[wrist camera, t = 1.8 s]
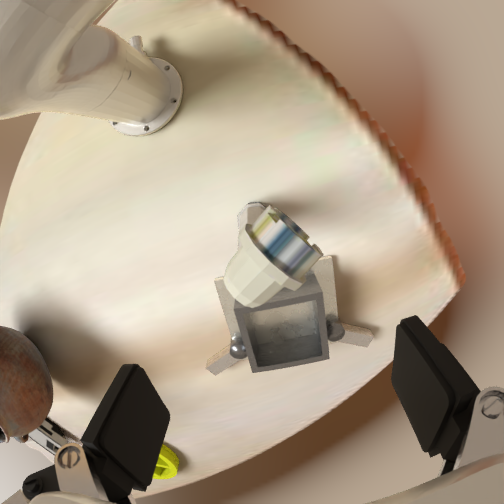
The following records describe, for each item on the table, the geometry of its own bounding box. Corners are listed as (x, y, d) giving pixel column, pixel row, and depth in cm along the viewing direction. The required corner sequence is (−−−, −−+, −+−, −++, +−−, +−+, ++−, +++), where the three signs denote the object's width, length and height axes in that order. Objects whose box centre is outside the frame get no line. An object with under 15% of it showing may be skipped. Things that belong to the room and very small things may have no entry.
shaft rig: (179, 284, 44) (167, 306, 37) (366, 247, 41) (384, 263, 34) (210, 367, 49) (205, 393, 42) (369, 338, 46) (382, 361, 40)
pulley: (82, 430, 63) (77, 441, 58) (123, 414, 57) (117, 428, 52) (146, 472, 69) (143, 483, 65) (198, 463, 64) (195, 476, 59)
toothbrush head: (231, 215, 40) (192, 298, 16) (261, 179, 38) (267, 212, 14) (259, 238, 41) (260, 345, 17) (289, 203, 39) (336, 272, 15)
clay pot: (91, 381, 53) (38, 474, 24) (46, 390, 57) (1, 458, 28) (27, 290, 45) (-61, 364, 17) (-6, 318, 49) (-68, 376, 21)
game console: (67, 448, 70) (60, 461, 63) (7, 401, 65) (-2, 413, 57) (71, 433, 65) (63, 449, 57) (3, 379, 59) (-8, 392, 52)
